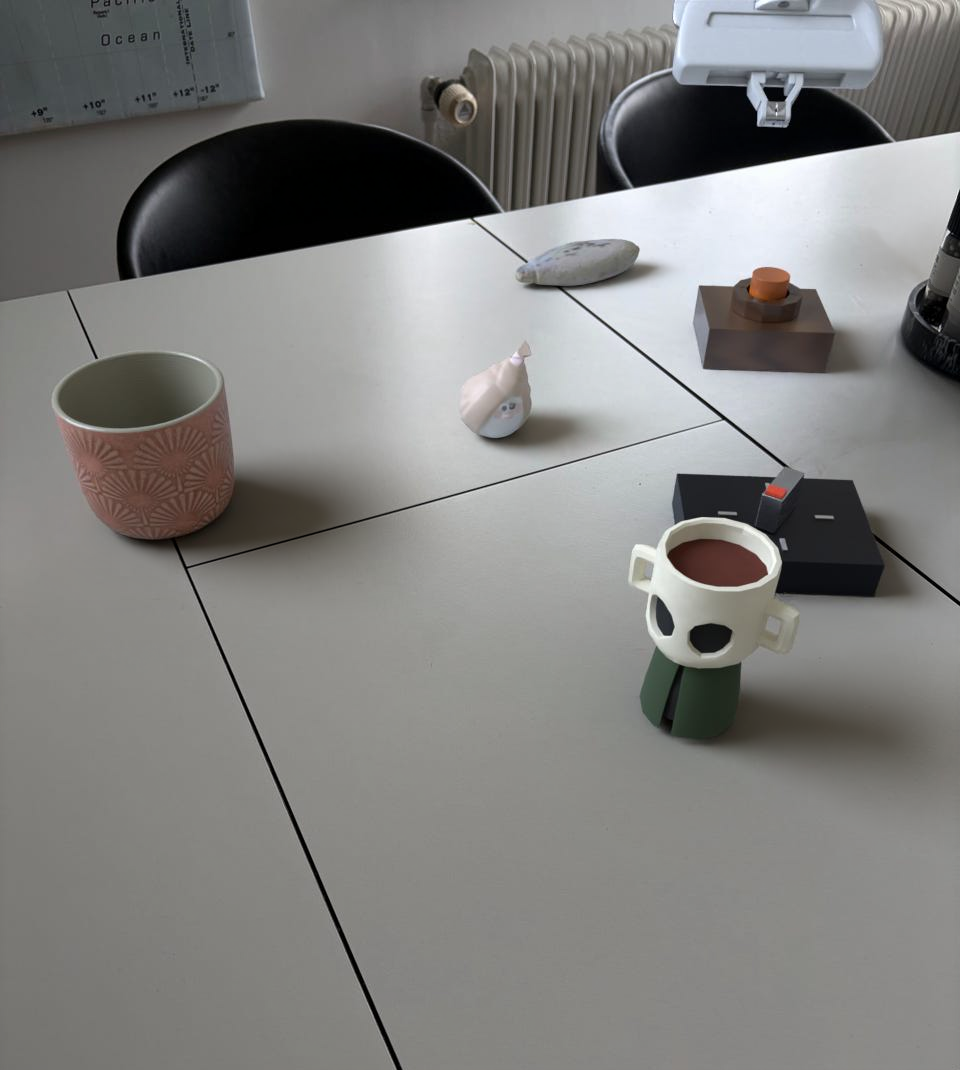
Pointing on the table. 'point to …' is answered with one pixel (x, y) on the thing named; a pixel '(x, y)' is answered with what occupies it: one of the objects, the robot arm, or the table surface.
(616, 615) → the table surface
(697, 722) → the character mug
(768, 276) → the button
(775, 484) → the knob
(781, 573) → the panel
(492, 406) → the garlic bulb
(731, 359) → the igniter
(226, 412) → the planter
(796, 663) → the table surface
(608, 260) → the decorative stone
